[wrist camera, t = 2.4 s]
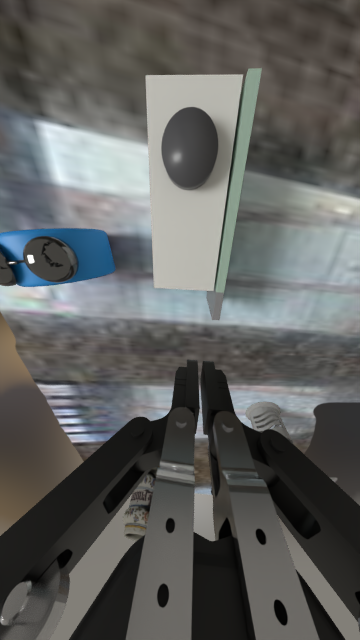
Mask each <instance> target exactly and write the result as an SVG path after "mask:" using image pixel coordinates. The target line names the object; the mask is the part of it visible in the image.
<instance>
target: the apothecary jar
mask: <svg viewBox="0 0 360 640" xmlns="http://www.w3.org/2000/svg"><path fill="white" fill-rule="evenodd" d="M158 467H159V466H158ZM158 467H155V468H152V469H151V470H150V471H149V473H148V474H147V475H146V476H145V478H144V479H143V480H142V481H141V483H140V484H139V485H138V487H137V488H136V489H135V490H134V492H133V493H132V498H131V502H130V505H129V508H128V509H127V510H126V511H125V513H124V516H123V522H124V525H125V531H124V536H125V537H126V538H128V539H131V540H135V541H137V540H139V539H140V538H141V537H142V536H144V535H145V533H146V528H147V522H148V517H149V511H150V506H151V501H152V495H153V490H154V485H155V479H156V476H155V474H157V470H158Z"/></svg>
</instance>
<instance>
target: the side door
mask: <svg viewBox="0 0 360 640" xmlns="http://www.w3.org/2000/svg"><path fill="white" fill-rule="evenodd" d="M261 70H262V68H257V69H248V72H247V75H246V78H245V81H244V85H243V88H242V91H241V94H240V100H239V107H238V115H237V122H236V129H235V137H234V144H233V151H232V159H231V166H230V173H229V181H228V188H227V195H226V203H225V210H224V217H223V225H222V232H221V239H220V247H219V254H218V261H217V269H216V276H215V283H214V291H207V297H206V298H207V301H208V305H209V309H210V313H211V317H212V320H219V319H220V313H221V308H222V302H223V296H224V290H225V284H226V278H227V272H228V266H229V260H230V254H231V248H232V242H233V236H234V230H235V224H236V218H237V213H238V207H239V201H240V195H241V189H242V183H243V177H244V171H245V165H246V159H247V153H248V147H249V141H250V135H251V129H252V124H253V118H254V112H255V106H256V100H257V94H258V88H259V82H260V76H261Z"/></svg>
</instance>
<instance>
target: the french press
mask: <svg viewBox="0 0 360 640" xmlns="http://www.w3.org/2000/svg"><path fill="white" fill-rule="evenodd" d="M245 413H246V417H247V418H248V419H249V420H251V423H252V427H253V429H254V430H256V431H259V432H261V433H262V432H263V431H264V430H267V429H270V428H271V427H272V426H273V425H274V424H277V425H276V426H275V427H274V428H273V429H272V430H275V431H277V432H279V433H281V434H282V435H283V436H285V437H286V438H287V439H288V440H289V441H290V442H291V443H292V444H293V442H292V440H291V438H290V436H289V434H288V432H287V430H286V428H285V426H284V424H283V422H282V420H281V418H280V416H279V415H280V408H279V407H278V405H276V404H274V403H271V402H258V403H256V404H253V405H251V406H250V407H249V408H247V410H246V412H245ZM278 420H279V421H280V422H278ZM279 425H281V426H282V427H278V426H279ZM258 427H259V428H258Z"/></svg>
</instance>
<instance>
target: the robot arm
mask: <svg viewBox="0 0 360 640" xmlns="http://www.w3.org/2000/svg"><path fill="white" fill-rule="evenodd" d="M201 400H202V416H203V433H204V434H205V435H208V440H209V445H208V457H209V466H210V475H211V484H212V493H213V520H214V531H215V540H216V541H209V540H207V539H205V538H204V537H202V536H200V535H198V534H197V533H195V532H193V530H194V529H193V527H194V442H195V434H196V429H197V422H198V415H199V409H200V406H199V384H198V362H197V360H187V367H179V368H178V370H177V371H176V375H175V384H174V392H173V400H172V407H171V410H170V412H169V413H168V414H167V415H166V416H165V417H163V418H161V419H158V420H154V421H151V422H150V420H148V419H147V418H145V417H136V418H134V419H132V420H131V421H129V422H128V423H127V424H126V425H125V426H124V427H123V428H121V429H120V430H119V431H118V432H117V433H116V434H115V435H114V436H112V437H111V438H110V439H109V440H108V441H107V442H106V443H105V444H103V445H102V446H101V447H100V448H99V449H98V450H97V451H96V452H94V453H93V454H92V455H91V456H90V457H89V458H88V459H87V460H85V461H84V462H83V463H82V464H81V465H80V466H79V467H78V468H76V469H75V470H74V471H73V472H72V473H71V474H70V475H69V476H68V477H66V478H65V479H64V480H63V481H62V482H61V483H60V484H58V486H56V487H55V488H54V489H53V490H52V491H51V492H49V493H48V494H47V495H46V496H45V497H44V498H43V499H42V500H40V501H39V502H38V503H37V504H36V505H35V506H34V507H33V508H32V509H30V510H29V511H28V512H27V513H26V514H25V515H24V516H22V517H21V518H20V519H19V520H18V521H17V522H16V523H15V524H13V525H12V526H11V527H10V528H9V529H8V530H7V531H6V532H4V533H3V534H2V535H1V536H0V640H49V639H50V637H51V635H52V634H53V632H54V630H55V629H56V627H57V625H58V623H59V621H60V619H61V616H62V614H63V612H64V609H65V606H66V602H67V598H68V594H69V585H70V578H69V573H70V572H71V571H72V569H73V568H74V567H75V565H76V564H77V563H78V562H79V560H80V559H81V558H82V557H83V555H84V554H85V553H86V552H87V550H88V549H89V548H90V546H91V545H92V544H93V543H94V541H95V540H96V539H97V538H98V536H99V535H100V534H101V532H102V531H103V530H104V529H105V527H106V526H107V525H108V524H109V522H110V521H111V520H112V518H113V517H114V516H115V515H116V513H117V512H118V511H119V510H120V508H121V507H122V506H123V504H124V503H125V502H126V501H127V499H128V498H129V497H130V495H131V494H132V493H133V492H134V490H135V489H136V488H137V487H138V485H139V484H140V483H141V481H142V480H143V479H144V478H145V476H146V475H147V474H148V473H149V471H150V470H151V469H152V468H155V467H158V466H159V467H158V470H157V474H156V479H155V485H154V490H153V495H152V501H151V506H150V511H149V517H148V522H147V528H146V533H145V535H144V536H142V537H141V538H140V539H139V540H137V541H136V542H135V543H134V544H133V545H132V546H131V547H130V548H129V550H128V551H127V552H126V553H125V555H124V556H123V557H122V559H121V560H120V562H119V563H118V565H117V567H116V568H115V570H114V571H113V573H112V574H111V576H110V577H109V579H108V580H107V582H106V583H105V585H104V586H103V588H102V589H101V591H100V593H99V594H98V596H97V597H96V599H95V601H94V602H93V604H92V605H91V606H90V608H89V610H88V611H87V613H86V614H85V616H84V617H83V619H82V620H81V622H80V623H79V625H78V626H77V628H76V630H75V631H74V633H73V634H72V636H71V637H70V639H69V640H345V638H344V637H343V635H342V634H341V632H340V631H339V630H338V628H337V627H336V625H335V624H334V622H333V621H332V619H331V618H330V616H329V615H328V614H327V612H326V611H325V609H324V608H323V606H322V605H321V603H320V602H319V600H318V599H317V597H316V596H315V595H314V593H313V592H312V590H311V589H310V587H309V586H308V584H307V583H306V582H305V580H304V579H303V578H302V576H301V575H300V574H299V573H298V572H297V570H296V569H295V566H294V563H293V560H292V557H291V554H290V551H289V548H288V545H287V543H286V540H285V537H284V534H283V531H282V528H281V525H280V522H279V519H278V516H279V518H280V519H281V520H282V522H283V523H284V524H285V526H286V527H287V528H288V530H289V531H290V532H291V534H292V535H293V536H294V538H295V539H296V540H297V542H298V543H299V544H300V546H301V547H302V548H303V549H304V551H305V552H306V554H307V555H308V556H309V558H310V559H311V560H312V562H313V563H314V564H315V566H316V567H317V568H318V570H319V571H320V572H321V573H322V575H323V576H324V578H325V579H326V580H327V582H328V583H329V584H330V586H331V587H332V588H333V589H334V591H335V592H336V593H337V595H338V596H339V597H340V599H341V600H342V601H343V603H344V604H345V605H346V607H347V608H348V609H349V611H350V612H351V613H352V615H353V616H354V617H355V619H356V620H357V621H358V625H359V631H360V506H359V505H358V504H357V503H356V502H355V501H354V500H353V499H352V498H351V497H350V496H348V495H347V494H346V493H345V492H344V491H343V490H342V489H341V488H340V487H339V486H338V485H337V484H336V483H334V482H333V481H332V480H331V479H330V478H329V477H328V476H327V475H326V474H325V473H324V472H323V471H321V470H320V469H319V468H318V467H317V466H316V465H315V464H314V463H313V462H312V461H311V460H309V459H308V458H307V457H306V456H305V455H304V454H303V453H302V452H301V451H300V450H299V449H298V448H297V447H295V446H294V445H293V444H292V443H291V442H290V441H289V440H288V439H287V438H286V437H285V436H283V435H282V434H281V433H279V432H277V431H275V430H272V429H267V430H264V431H263V432H262V433H261V432H259V431H256V430H254V429H252V428H249V427H247V426H246V425H244V424H243V423H242V422H241V421H240V420H239V419H238V417H237V416H236V414H235V412H234V408H233V404H232V400H231V396H230V392H229V388H228V384H227V380H226V376H225V374H224V373H223V372H222V370H216V369H215V366H214V362H210V361H203V365H202V372H201ZM277 515H278V516H277Z"/></svg>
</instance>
